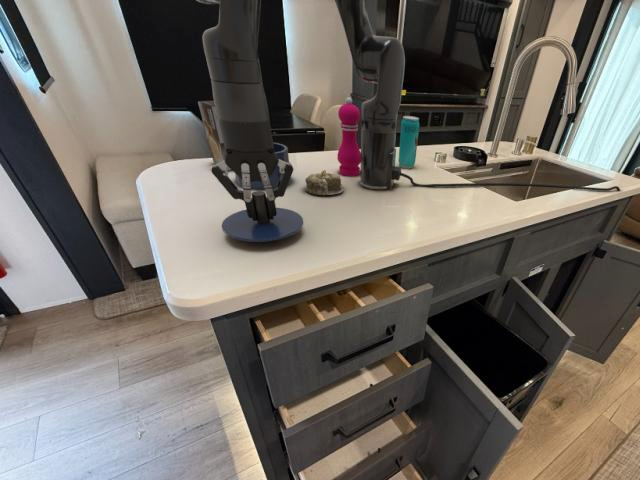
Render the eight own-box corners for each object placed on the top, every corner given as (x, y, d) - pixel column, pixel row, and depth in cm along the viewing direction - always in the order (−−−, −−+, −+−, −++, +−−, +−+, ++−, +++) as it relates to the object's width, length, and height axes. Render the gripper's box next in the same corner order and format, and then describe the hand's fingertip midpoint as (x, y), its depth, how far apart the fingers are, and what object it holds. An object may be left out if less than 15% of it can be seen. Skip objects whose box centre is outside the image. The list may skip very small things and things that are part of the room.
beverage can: (414, 170, 108) (420, 119, 99) (397, 168, 108) (401, 117, 99) (414, 165, 113) (419, 117, 104) (398, 163, 113) (402, 115, 104)
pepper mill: (359, 177, 97) (360, 100, 85) (335, 175, 96) (333, 97, 84) (362, 170, 102) (363, 97, 90) (339, 168, 102) (338, 94, 90)
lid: (314, 217, 68) (311, 185, 64) (285, 249, 56) (280, 213, 52) (247, 208, 69) (240, 176, 65) (206, 238, 57) (194, 202, 53)
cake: (298, 194, 83) (294, 172, 80) (318, 184, 91) (316, 164, 87) (332, 198, 80) (329, 176, 77) (350, 188, 88) (349, 167, 85)
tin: (298, 177, 92) (295, 145, 87) (278, 192, 81) (273, 157, 76) (253, 171, 93) (247, 139, 88) (226, 185, 82) (218, 150, 77)
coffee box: (248, 168, 95) (236, 105, 85) (226, 171, 91) (211, 105, 81) (233, 160, 99) (220, 100, 90) (212, 163, 95) (196, 100, 86)
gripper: (191, 118, 46) (222, 230, 56) (292, 120, 51) (303, 223, 61) (195, 110, 51) (223, 213, 62) (286, 112, 56) (297, 208, 66)
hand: (263, 218), depth 61 cm, fingers closed on lid, 2 cm apart
